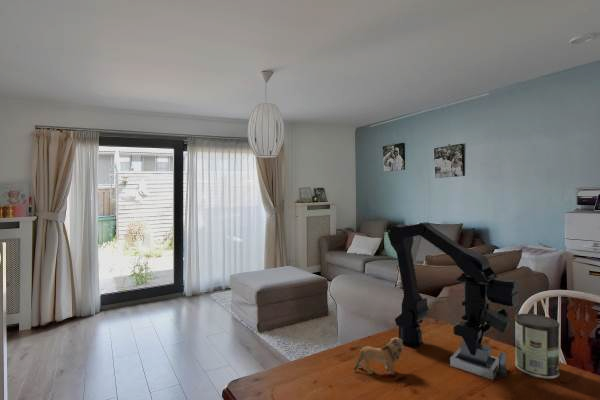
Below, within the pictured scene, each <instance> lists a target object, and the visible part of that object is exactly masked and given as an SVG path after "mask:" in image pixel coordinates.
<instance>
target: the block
mask: <svg viewBox="0 0 600 400" xmlns="http://www.w3.org/2000/svg"><path fill="white" fill-rule="evenodd" d="M459 345H460V347H459V348H460V359H461V360H464V361H468V362H471V363H474V364H477V365H480V366H483V367H487V368H488V366H489V365H490V359H491V356H492V346H490V345H486V344H484V343H477V349H476V354H475V355H471V354H470V352H469V350H468V348H467V346H466V343H465V341H464V340H462V341H460V344H459Z"/></svg>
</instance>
